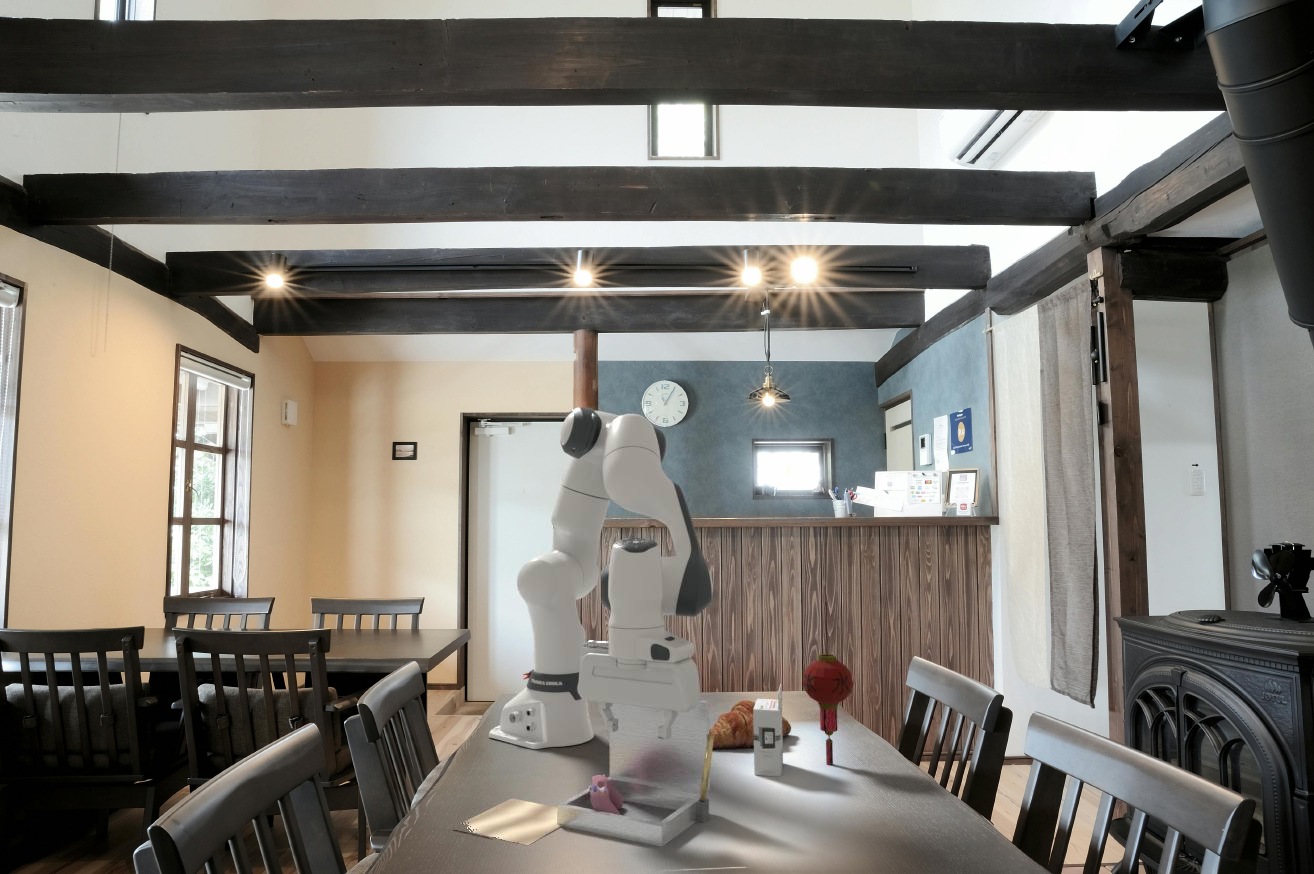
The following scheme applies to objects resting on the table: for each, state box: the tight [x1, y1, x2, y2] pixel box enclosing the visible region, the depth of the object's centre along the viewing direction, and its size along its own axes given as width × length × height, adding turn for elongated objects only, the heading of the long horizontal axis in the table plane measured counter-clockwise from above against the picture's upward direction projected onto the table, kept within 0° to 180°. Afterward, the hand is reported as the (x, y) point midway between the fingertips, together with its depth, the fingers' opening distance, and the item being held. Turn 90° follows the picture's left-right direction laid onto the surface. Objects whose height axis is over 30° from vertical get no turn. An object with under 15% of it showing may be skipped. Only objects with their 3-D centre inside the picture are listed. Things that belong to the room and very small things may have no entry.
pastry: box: [709, 700, 792, 750], centre depth 172 cm, size 17×15×8 cm
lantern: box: [802, 601, 854, 766], centre depth 157 cm, size 10×10×30 cm
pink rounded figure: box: [588, 773, 624, 815], centre depth 129 cm, size 10×5×7 cm, turn 3°
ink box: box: [753, 683, 784, 777], centre depth 154 cm, size 9×5×15 cm, turn 168°
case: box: [556, 699, 714, 847], centre depth 129 cm, size 19×16×18 cm
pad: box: [460, 797, 564, 847], centre depth 127 cm, size 14×14×1 cm
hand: (637, 734), depth 129 cm, fingers open, 8 cm apart
